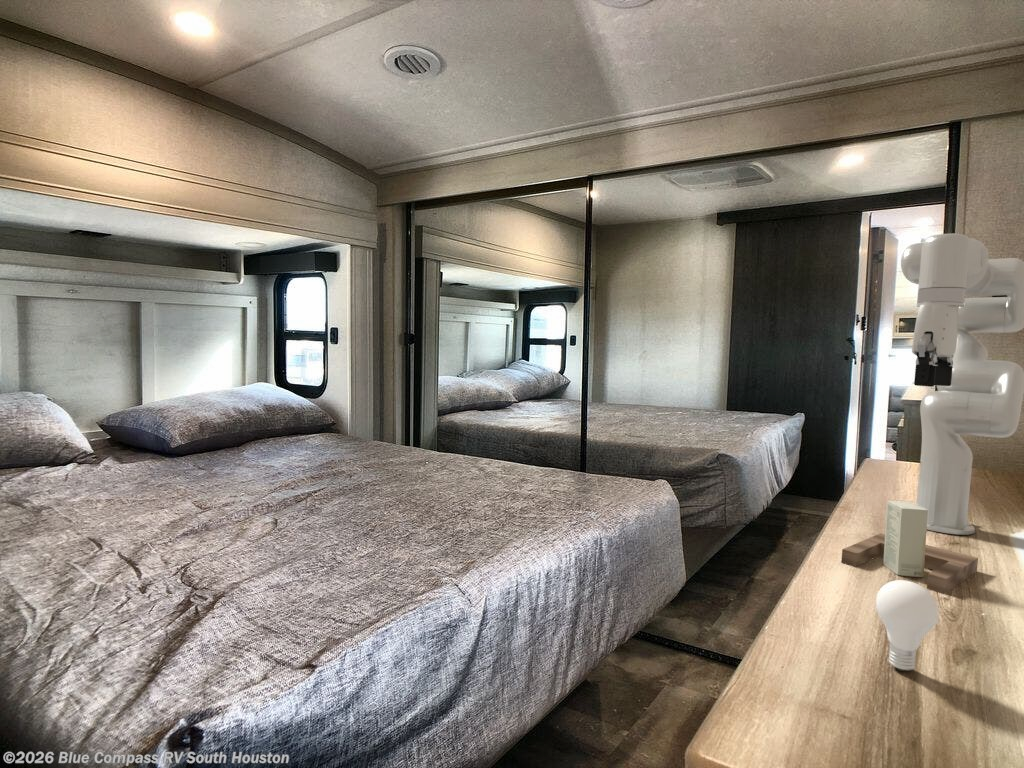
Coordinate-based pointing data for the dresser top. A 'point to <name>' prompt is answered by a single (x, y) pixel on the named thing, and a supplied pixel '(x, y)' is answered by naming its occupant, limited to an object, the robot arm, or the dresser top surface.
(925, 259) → the robot arm
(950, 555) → the notched board
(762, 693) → the dresser top surface
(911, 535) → the skincare box
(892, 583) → the lightbulb
